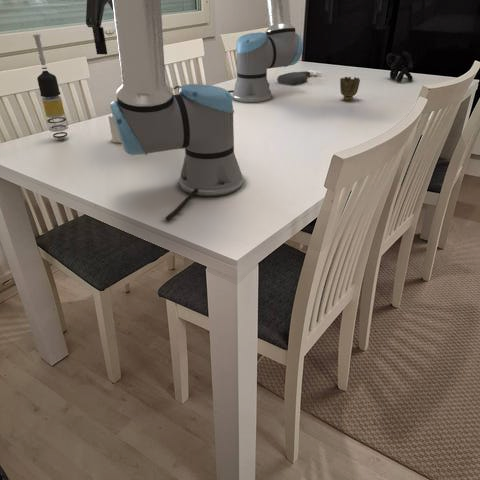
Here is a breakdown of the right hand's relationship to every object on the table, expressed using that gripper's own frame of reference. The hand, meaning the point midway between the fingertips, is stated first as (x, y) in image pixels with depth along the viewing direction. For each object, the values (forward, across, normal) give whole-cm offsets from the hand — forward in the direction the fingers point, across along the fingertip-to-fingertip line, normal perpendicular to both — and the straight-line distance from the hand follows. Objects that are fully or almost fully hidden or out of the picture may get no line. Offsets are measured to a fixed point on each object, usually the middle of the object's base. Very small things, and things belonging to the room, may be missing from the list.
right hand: (351, 23), depth 139 cm
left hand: (+3, +59, +43) cm, 73 cm away
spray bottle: (+29, +27, -53) cm, 66 cm away
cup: (+29, +1, -23) cm, 37 cm away
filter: (+29, +80, +48) cm, 98 cm away
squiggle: (+29, -16, -63) cm, 72 cm away
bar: (+29, +51, +42) cm, 73 cm away
